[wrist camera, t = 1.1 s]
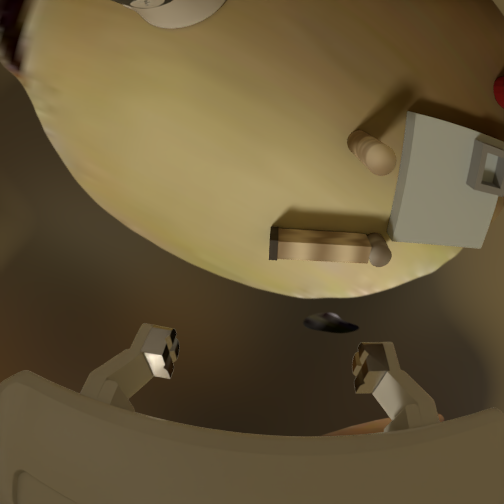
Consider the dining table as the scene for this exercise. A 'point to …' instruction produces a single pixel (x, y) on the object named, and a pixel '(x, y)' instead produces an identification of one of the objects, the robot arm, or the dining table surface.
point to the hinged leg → (328, 246)
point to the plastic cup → (499, 91)
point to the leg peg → (372, 152)
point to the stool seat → (446, 184)
